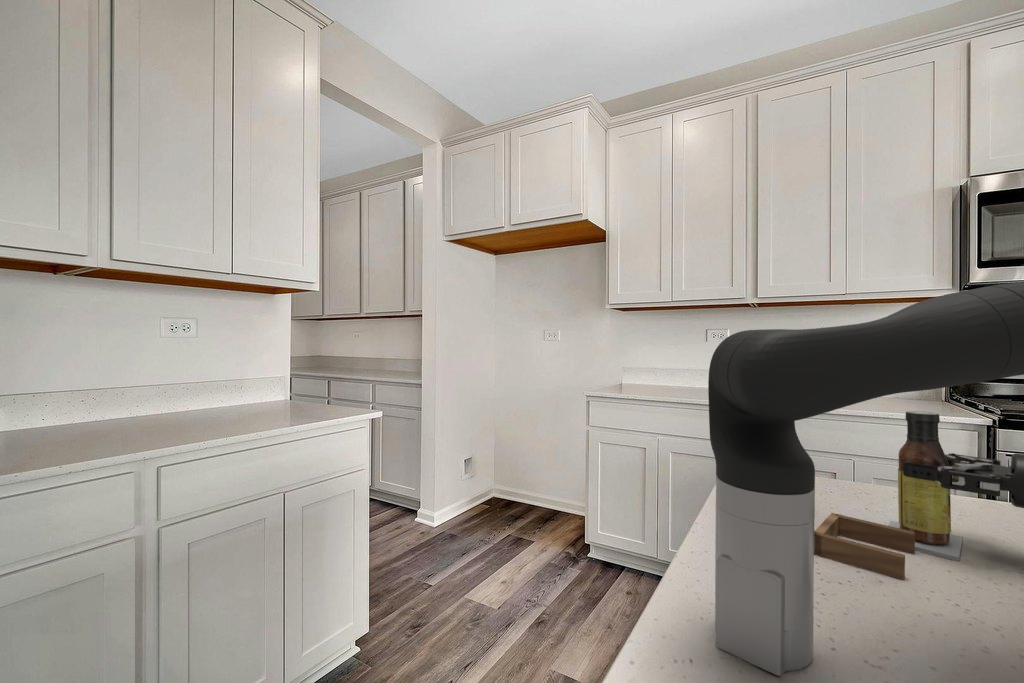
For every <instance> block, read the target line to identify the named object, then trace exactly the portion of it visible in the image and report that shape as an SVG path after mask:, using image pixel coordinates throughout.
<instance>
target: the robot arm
mask: <svg viewBox="0 0 1024 683" xmlns="http://www.w3.org/2000/svg"><path fill="white" fill-rule="evenodd" d="M710 359H711V360H710V364H709V368H708V379H707V380H708V383H707V384H708V385H707V386H708V394H707V395H708V420H709V422H708V423H709V440H710V446H711V448H712V452H713V455H714V456H713V457H714V459H715V542H714V543H715V547H714V548H715V550H714V551H715V554H714V555H715V556H714V557H715V563H714V564H715V568H714V570H715V571H714V572H715V574H714V585H715V586H714V590H715V591H714V592H715V593H714V602H715V603H714V604H715V606H714V607H715V608H714V614H715V615H714V628H715V629H714V631H715V647H717V648H718V649H721V650H723V651H725V652H727V653H728V654H731V655H733V656H736V657H737V658H739V659H742V660H744V661H746V662H747V663H750V664H752V665H755V666H756V667H758V668H761V669H762V670H765V671H767V672H769V673H771V674H773V675H775V676H778V677H781V676H782V674H784V672H788V671H798V670H802V669H804V668H806V667H807V666H809V665H810V664H811V662H812V661H813V660H814V623H815V622H814V619H815V618H814V610H815V609H814V604H815V603H814V600H815V599H814V596H815V595H814V594H815V593H814V592H815V591H814V590H815V589H814V588H815V585H814V584H815V569H814V568H815V554H814V531H815V516H816V515H815V514H816V513H815V512H816V508H815V504H816V503H815V502H816V489H815V488H816V468H815V463H814V461H813V458H812V457H811V456H810V455H809V453H808V452H807V451H806V450H805V448H804V446H803V445H802V443H801V441H800V438H799V436H798V433H797V430H796V424H795V423H796V422H795V421H801V420H804V419H808V418H812V417H816V416H819V415H822V414H825V413H829V412H833V411H836V410H838V409H843V408H845V407H849V406H852V405H856V404H859V403H863V402H867V401H869V400H872V399H877V398H882V397H885V396H891V395H894V394H903V393H912V392H920V391H921V392H922V391H931V390H937V389H938V390H939V389H944V388H950V387H955V386H963V385H971V384H978V383H984V382H990V381H994V380H1001V379H1004V378H1010V377H1016V376H1021V375H1024V282H1011V283H1002V284H994V285H988V286H987V285H986V286H982V287H977V288H973V289H967V290H962V291H957V292H952V293H947V294H944V295H943V294H942V295H939V296H935V297H932V298H928V299H925V300H921V301H919V302H917V303H916V302H915V303H914V304H911V305H909V306H906V307H904V308H902V309H900V310H898V311H895V312H894V313H891V314H889V315H887V316H884V317H882V318H879V319H875V320H871V321H866V322H860V323H855V324H854V323H853V324H845V325H836V326H829V327H819V328H803V329H801V328H800V329H791V328H790V329H786V328H783V329H781V328H777V329H776V328H774V329H747V330H742V331H738V332H735V333H733V334H731V335H729V336H727V337H726V338H724V339H723V340H722V341H721V342H720V343H719V344H718V346H717V347H716V349H715V350H714V351H713V354H712V356H711V358H710ZM944 454H945V453H944ZM945 456H946V458H947V461H948V463H949V465H950V467H949V466H933V465H927V464H920V463H913V462H905V463H904V464H903V474H904V476H906V477H911V478H917V479H923V480H929V481H936V483H938V484H940V485H941V487H943V488H946V489H950V490H954V491H962V492H966V493H967V492H969V493H972V494H973V493H974V494H980V495H986V496H991V497H995V498H996V497H1000V496H1001V492H1002V491H1003V492H1004V491H1005V492H1006V491H1007V492H1009V493H1010V503H1011V505H1012V506H1014V507H1016V508H1020V509H1024V453H1013V454H1012V455H1011V459H1010V461H1011V462H1010V466H1005V465H1001V463H1002V462H1001V460H999V459H997V458H996V459H995V458H986V457H985V458H984V457H978V456H973V455H972V456H970V455H964V454H957V453H954V452H953V453H947V454H945Z"/></svg>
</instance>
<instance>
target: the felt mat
mask: <svg viewBox="0 0 1024 683" xmlns="http://www.w3.org/2000/svg"><path fill="white" fill-rule="evenodd" d="M887 526H891V527H895V528H900V524H899V521H898V522H897V521H894V520H890V521H889V522H888V524H887ZM963 539H964V536H961V535H956V534H952V533H950V539H949V542H948V543H947V544H943V545H940V544H928V543H923V542H919V541H916V540H915V552H919V553H924V554H927V555H932V556H936V557H939V558H944V559H947V560H951V561H955V562H960V557H961V553H962V547H963Z"/></svg>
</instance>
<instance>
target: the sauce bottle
mask: <svg viewBox="0 0 1024 683" xmlns="http://www.w3.org/2000/svg"><path fill="white" fill-rule="evenodd" d="M905 420H906V422H907V423H906V426H907V427H906V430H907V431H906V432H907V434H906V441H905V443H904V444H903V445H902V446H901V447H900V449H899V450H898V469H897V491H898V492H897V496H898V501H897V502H898V506H897V507H898V522H899V524H900V529H904V530H908V531H913V532H915V540H916V541H919V542H923V543H928V544H940V545H943V544H947V543H948V542H949V539H950V534H951V532H952V520H951V519H952V517H951V515H952V514H951V513H952V512H951V508H952V507H951V506H952V505H951V502H952V501H951V489H946V488H943V487H941V485H940V484H938V483H936V481H929V480H923V479H917V478H911V477H906V476H904V474H903V464H904V463H905V462H913V463H920V464H927V465H933V466H949V467H950V465H949V463H948V461H947V458H946V456H945V451H944V450H943V446H942V445H941V443H940V437H939V423H940V422H941V421H940V414H939V413H938V412H934V411H925V410H907V411H905Z"/></svg>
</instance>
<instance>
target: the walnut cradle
mask: <svg viewBox="0 0 1024 683" xmlns="http://www.w3.org/2000/svg"><path fill="white" fill-rule="evenodd" d="M838 536H841V537H845V538H841V537H838ZM846 538H849V539H853V540H849V539H846ZM854 540H857V541H860V542H857V541H854ZM861 542H865V543H868V544H873V545H876V546H879V547H880V548H879V547H876V546H872V545H868V544H865V543H861ZM881 547H882V548H881ZM883 547H884V548H883ZM885 548H887V549H885ZM888 549H892V550H895V551H899V552H895V551H891V550H888ZM900 552H903V553H905V554H903V553H900ZM915 552H916V551H915V532H913V531H908V530H904V529H900V528H895V527H891V526H888V524H887V525H886V524H882V523H877V522H873V521H868V520H864V519H862V518H861V519H859V518H855V517H851V516H847V515H843V514H840V513H838V514H837V513H835V512H831V513H830V514H829V515H828V516H827V517H826V518H825V519H824V520H823V521H822V523H821V524H820V525H819V526H818V527H817V528H816V529H814V556H815V555H816V556H819V557H823V558H826V559H829V560H833V561H837V562H840V563H842V564H847V565H849V566H854V567H857V568H860V569H864V570H868V571H871V572H874V573H878V574H881V575H885V576H889V577H891V578H895V579H898V580H901V581H904V580H905V578H906V554H907V553H908V554H911V555H914V554H915Z"/></svg>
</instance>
